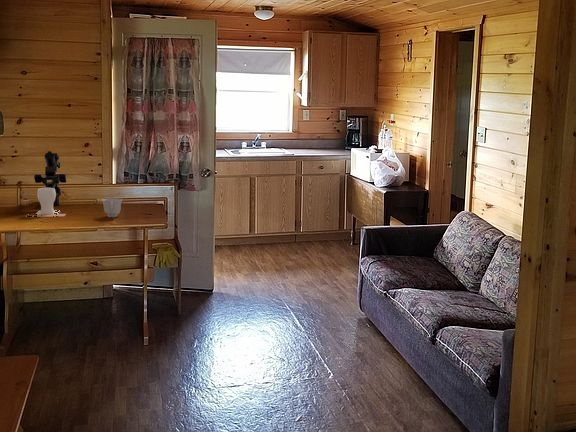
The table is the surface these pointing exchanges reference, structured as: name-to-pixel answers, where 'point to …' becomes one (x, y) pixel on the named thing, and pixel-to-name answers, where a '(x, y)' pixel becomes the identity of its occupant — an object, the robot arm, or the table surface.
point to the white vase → (46, 199)
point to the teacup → (112, 206)
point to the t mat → (49, 214)
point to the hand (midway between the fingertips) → (49, 189)
